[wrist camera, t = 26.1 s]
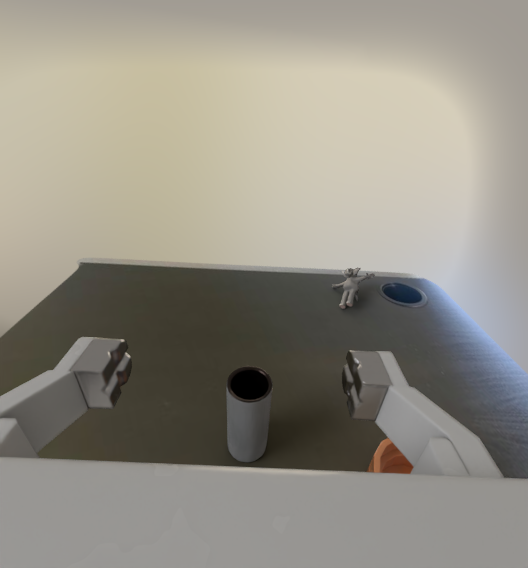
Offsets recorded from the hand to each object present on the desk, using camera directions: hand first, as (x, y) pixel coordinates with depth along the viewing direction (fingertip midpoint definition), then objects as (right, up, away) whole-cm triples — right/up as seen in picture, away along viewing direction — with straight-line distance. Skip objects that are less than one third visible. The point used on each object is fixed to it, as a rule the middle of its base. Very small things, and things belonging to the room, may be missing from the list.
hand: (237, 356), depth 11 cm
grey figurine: (+19, -1, +51) cm, 55 cm away
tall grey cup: (-1, -16, +24) cm, 29 cm away
